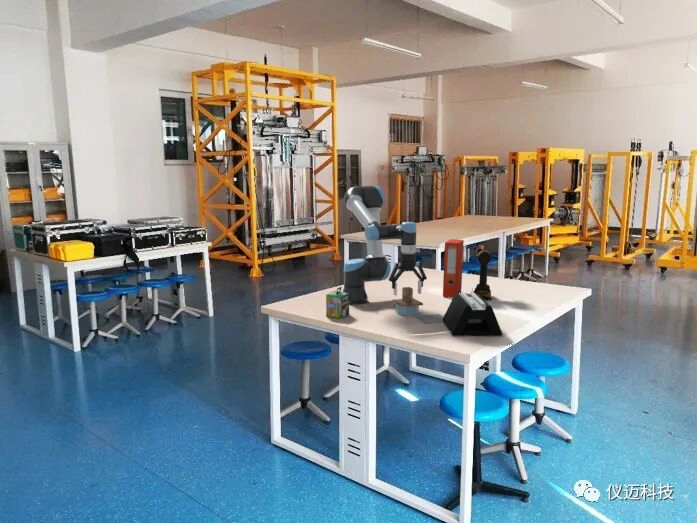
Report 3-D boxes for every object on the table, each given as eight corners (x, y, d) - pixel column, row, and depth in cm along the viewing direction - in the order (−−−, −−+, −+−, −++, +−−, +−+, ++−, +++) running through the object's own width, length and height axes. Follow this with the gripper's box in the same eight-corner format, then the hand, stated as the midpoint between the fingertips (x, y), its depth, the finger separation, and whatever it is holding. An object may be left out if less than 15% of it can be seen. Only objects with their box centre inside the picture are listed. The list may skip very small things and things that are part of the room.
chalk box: (333, 312, 292) (333, 284, 289) (349, 314, 288) (350, 286, 285) (325, 316, 284) (325, 287, 281) (341, 318, 280) (341, 289, 277)
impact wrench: (470, 299, 322) (472, 251, 317) (472, 292, 342) (474, 246, 337) (495, 301, 318) (497, 252, 314) (495, 293, 338) (497, 247, 334)
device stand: (488, 321, 273) (490, 291, 270) (502, 336, 251) (504, 303, 248) (442, 321, 272) (443, 291, 270) (452, 336, 250) (453, 303, 248)
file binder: (461, 292, 341) (463, 239, 336) (456, 298, 325) (458, 243, 320) (448, 291, 344) (450, 239, 339) (442, 297, 328) (444, 242, 323)
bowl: (401, 317, 283) (401, 306, 282) (393, 312, 293) (393, 301, 292) (421, 315, 286) (421, 305, 285) (412, 310, 296) (412, 300, 296)
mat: (425, 325, 268) (425, 324, 268) (412, 317, 282) (412, 316, 282) (453, 322, 273) (453, 321, 273) (439, 315, 287) (439, 314, 287)
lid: (400, 306, 281) (401, 291, 280) (391, 301, 293) (392, 286, 291) (422, 305, 285) (423, 289, 284) (413, 300, 296) (413, 285, 295)
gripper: (388, 254, 277) (387, 297, 281) (433, 252, 285) (432, 294, 288) (382, 252, 284) (382, 294, 288) (427, 250, 292) (426, 291, 295)
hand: (407, 294), depth 288 cm, fingers open, 13 cm apart
